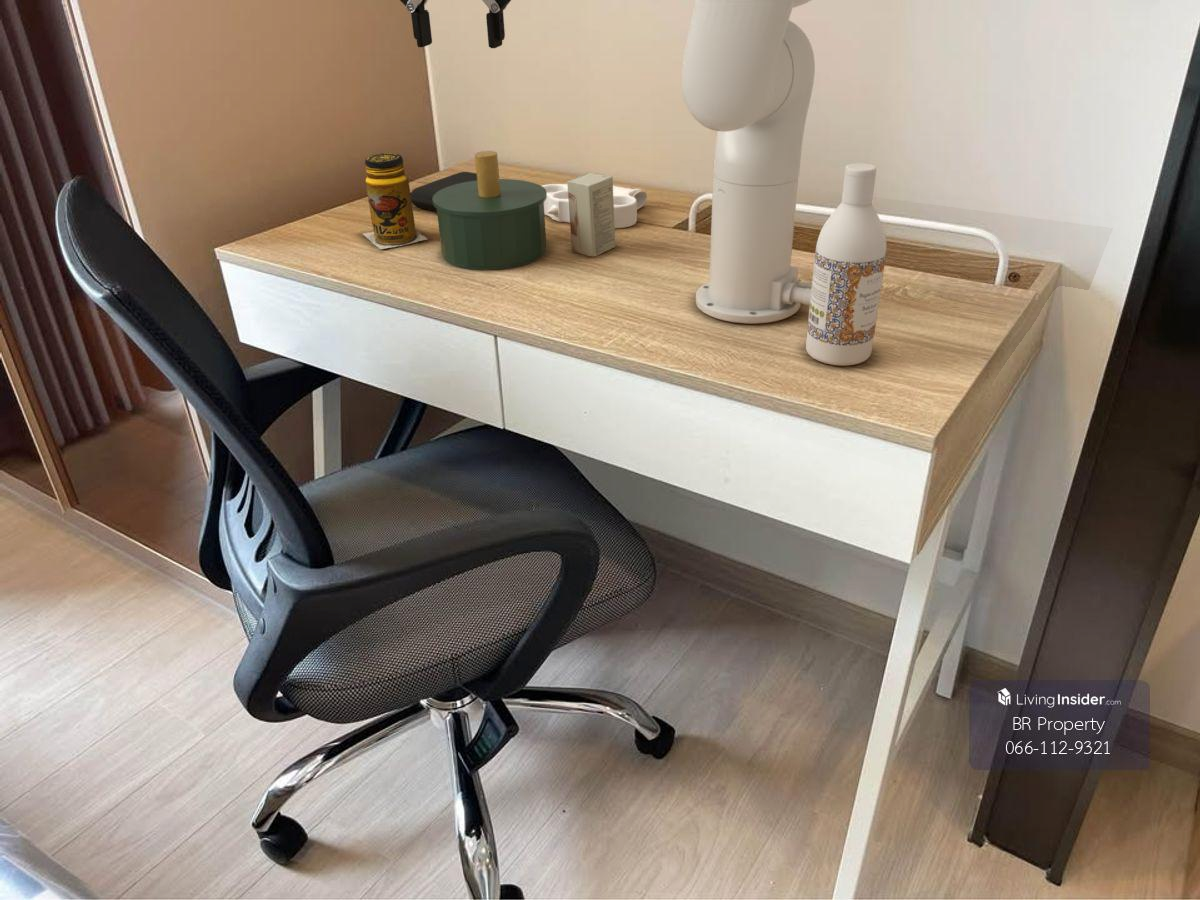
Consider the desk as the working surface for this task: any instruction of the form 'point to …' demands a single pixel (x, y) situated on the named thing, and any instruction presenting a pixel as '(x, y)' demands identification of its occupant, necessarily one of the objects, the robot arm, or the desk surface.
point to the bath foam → (847, 275)
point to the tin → (493, 239)
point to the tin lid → (489, 192)
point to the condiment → (390, 202)
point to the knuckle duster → (623, 199)
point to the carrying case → (438, 189)
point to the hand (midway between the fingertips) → (460, 46)
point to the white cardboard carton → (591, 213)
